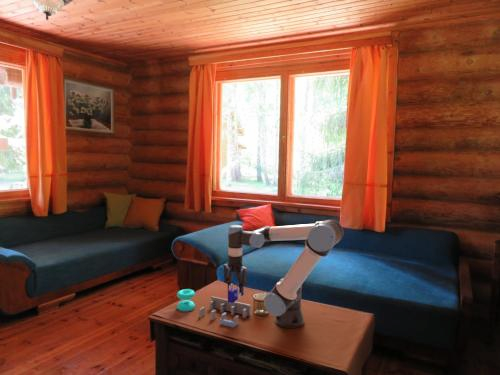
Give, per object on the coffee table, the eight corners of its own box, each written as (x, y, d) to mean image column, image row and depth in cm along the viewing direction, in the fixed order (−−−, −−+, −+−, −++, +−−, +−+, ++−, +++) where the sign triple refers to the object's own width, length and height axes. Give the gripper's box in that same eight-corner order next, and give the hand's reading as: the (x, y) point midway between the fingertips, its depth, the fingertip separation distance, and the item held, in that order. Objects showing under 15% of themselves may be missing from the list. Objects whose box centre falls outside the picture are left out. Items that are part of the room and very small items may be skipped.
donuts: (185, 296, 201) (173, 292, 207) (185, 314, 202) (173, 309, 208) (198, 291, 209) (186, 286, 215) (198, 307, 210) (186, 303, 216)
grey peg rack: (250, 315, 202) (250, 304, 201) (236, 328, 187) (236, 316, 186) (212, 306, 213) (212, 296, 212) (196, 317, 198) (196, 306, 197)
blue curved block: (236, 293, 201) (236, 282, 201) (243, 294, 199) (243, 284, 199) (225, 301, 190) (225, 290, 190) (232, 303, 188) (232, 291, 188)
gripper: (253, 255, 192) (252, 297, 195) (224, 250, 200) (224, 291, 202) (246, 258, 185) (246, 303, 188) (217, 254, 193) (217, 296, 196)
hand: (235, 297), depth 195 cm, fingers closed on blue curved block, 4 cm apart
